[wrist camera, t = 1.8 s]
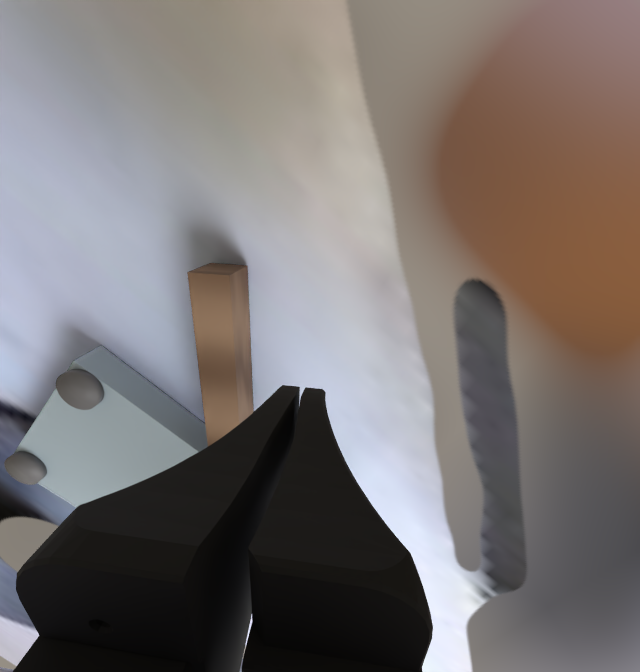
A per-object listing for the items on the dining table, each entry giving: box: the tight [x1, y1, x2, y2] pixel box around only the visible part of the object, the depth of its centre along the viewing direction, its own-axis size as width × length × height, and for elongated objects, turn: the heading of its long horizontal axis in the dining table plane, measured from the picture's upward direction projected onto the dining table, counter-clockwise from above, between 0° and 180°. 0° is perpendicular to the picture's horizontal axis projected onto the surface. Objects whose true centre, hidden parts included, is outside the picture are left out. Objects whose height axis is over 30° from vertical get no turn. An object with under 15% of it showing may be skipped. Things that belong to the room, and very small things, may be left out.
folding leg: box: [188, 263, 253, 446], centre depth 21 cm, size 14×2×3 cm, turn 177°
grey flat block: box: [5, 346, 208, 508], centre depth 26 cm, size 12×14×3 cm
